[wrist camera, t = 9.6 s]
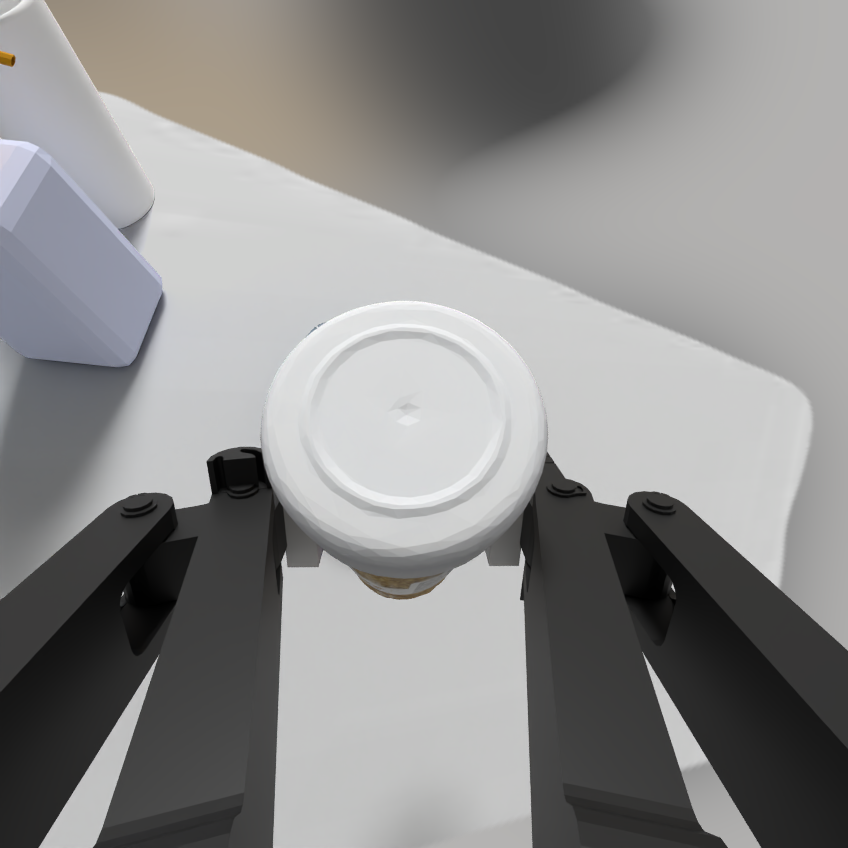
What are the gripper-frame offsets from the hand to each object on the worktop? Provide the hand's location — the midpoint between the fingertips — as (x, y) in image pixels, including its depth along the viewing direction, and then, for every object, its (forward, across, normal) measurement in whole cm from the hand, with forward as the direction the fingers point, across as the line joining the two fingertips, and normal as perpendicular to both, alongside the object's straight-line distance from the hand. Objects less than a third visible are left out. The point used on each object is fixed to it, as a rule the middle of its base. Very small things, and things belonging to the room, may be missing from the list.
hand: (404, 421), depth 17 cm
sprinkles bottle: (0, 0, -6) cm, 6 cm away
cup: (+35, -29, +9) cm, 46 cm away
